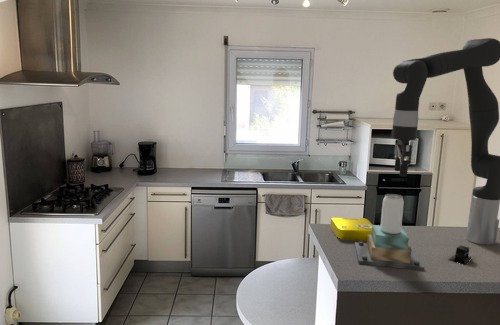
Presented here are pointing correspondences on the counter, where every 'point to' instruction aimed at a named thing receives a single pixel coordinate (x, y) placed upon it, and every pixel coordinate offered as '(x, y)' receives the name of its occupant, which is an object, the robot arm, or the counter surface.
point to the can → (392, 214)
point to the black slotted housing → (461, 255)
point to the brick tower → (388, 250)
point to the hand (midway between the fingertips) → (400, 173)
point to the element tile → (351, 228)
